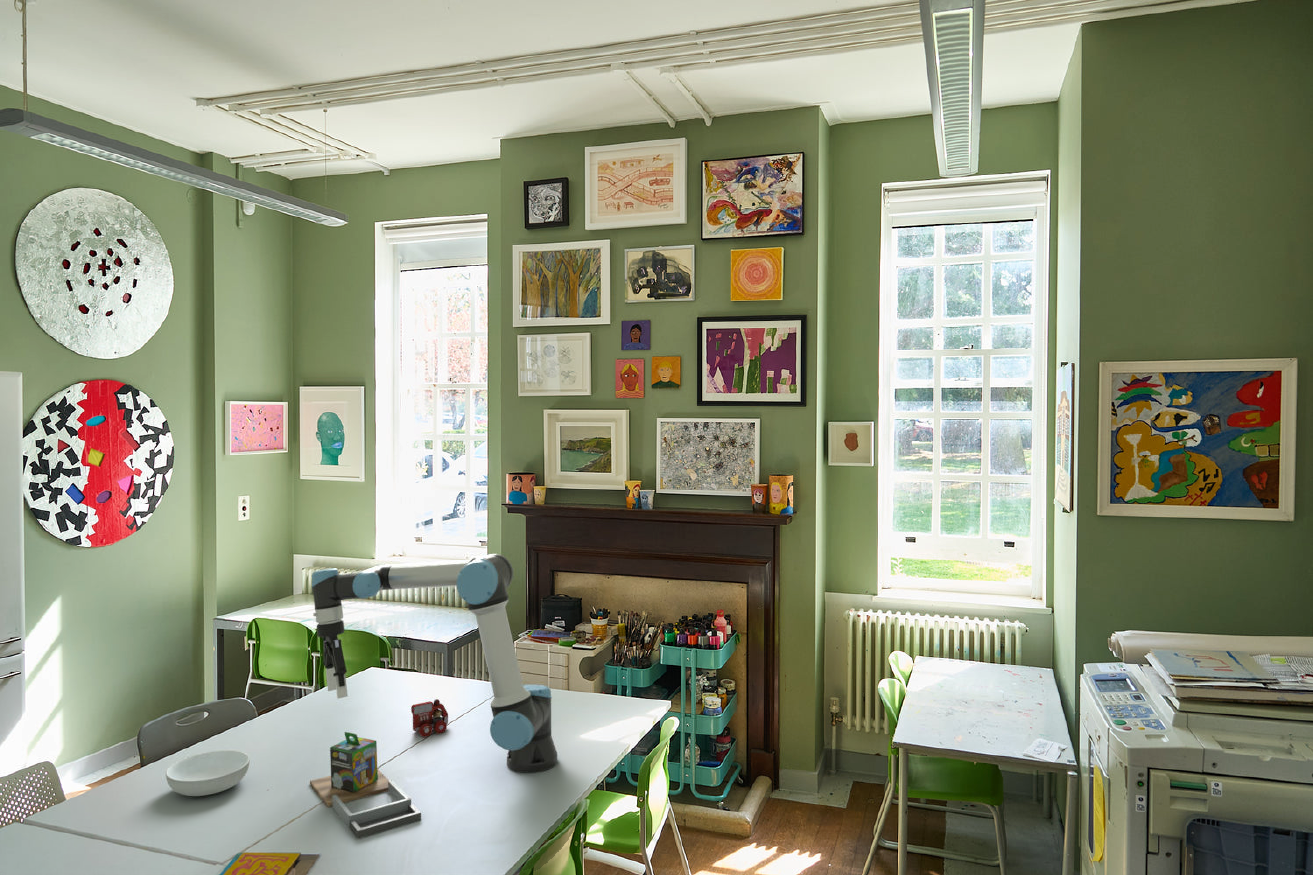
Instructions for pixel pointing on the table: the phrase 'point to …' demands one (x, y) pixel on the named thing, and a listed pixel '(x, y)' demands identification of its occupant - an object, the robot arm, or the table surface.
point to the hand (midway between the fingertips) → (337, 693)
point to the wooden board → (326, 791)
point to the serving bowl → (207, 772)
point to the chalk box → (353, 763)
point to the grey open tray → (379, 814)
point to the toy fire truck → (429, 718)
